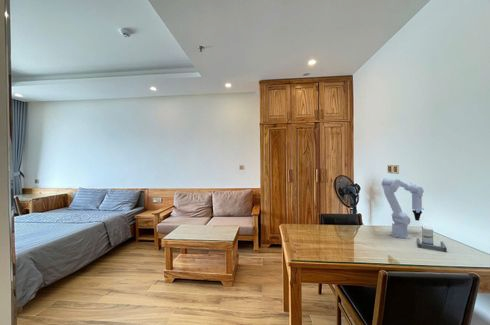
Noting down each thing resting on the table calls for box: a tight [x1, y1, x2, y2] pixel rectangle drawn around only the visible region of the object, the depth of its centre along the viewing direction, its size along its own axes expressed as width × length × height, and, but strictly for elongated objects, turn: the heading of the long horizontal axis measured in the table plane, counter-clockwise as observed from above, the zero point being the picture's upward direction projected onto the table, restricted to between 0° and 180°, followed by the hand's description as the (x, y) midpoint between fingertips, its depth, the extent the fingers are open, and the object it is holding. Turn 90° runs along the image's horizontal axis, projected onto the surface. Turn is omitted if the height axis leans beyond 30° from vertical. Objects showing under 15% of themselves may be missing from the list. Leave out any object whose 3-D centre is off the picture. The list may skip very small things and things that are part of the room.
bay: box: [416, 237, 448, 253], centre depth 138 cm, size 13×12×2 cm
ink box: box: [421, 224, 434, 245], centre depth 140 cm, size 8×5×12 cm, turn 147°
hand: (417, 220), depth 161 cm, fingers closed
